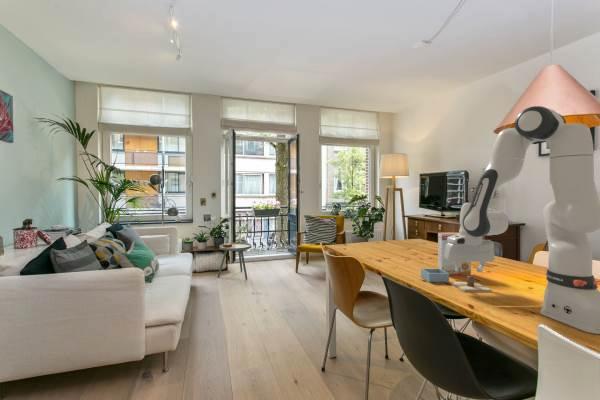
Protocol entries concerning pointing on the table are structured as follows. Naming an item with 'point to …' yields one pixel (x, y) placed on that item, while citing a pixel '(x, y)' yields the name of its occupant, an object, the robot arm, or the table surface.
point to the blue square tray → (435, 275)
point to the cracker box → (447, 264)
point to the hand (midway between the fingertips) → (468, 271)
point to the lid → (471, 286)
